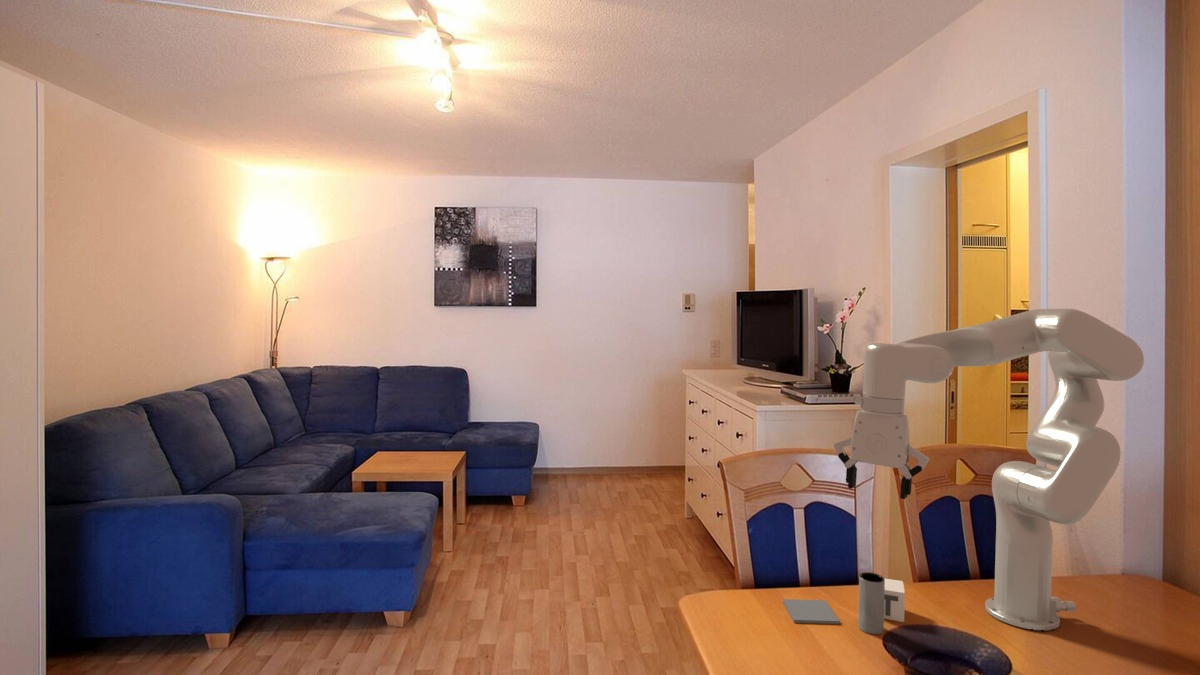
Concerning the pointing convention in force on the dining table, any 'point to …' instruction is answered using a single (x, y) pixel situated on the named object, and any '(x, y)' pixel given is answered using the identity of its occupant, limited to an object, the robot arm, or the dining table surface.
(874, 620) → the grey hollow tube
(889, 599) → the letter cube
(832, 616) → the grey mat
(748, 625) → the dining table surface
